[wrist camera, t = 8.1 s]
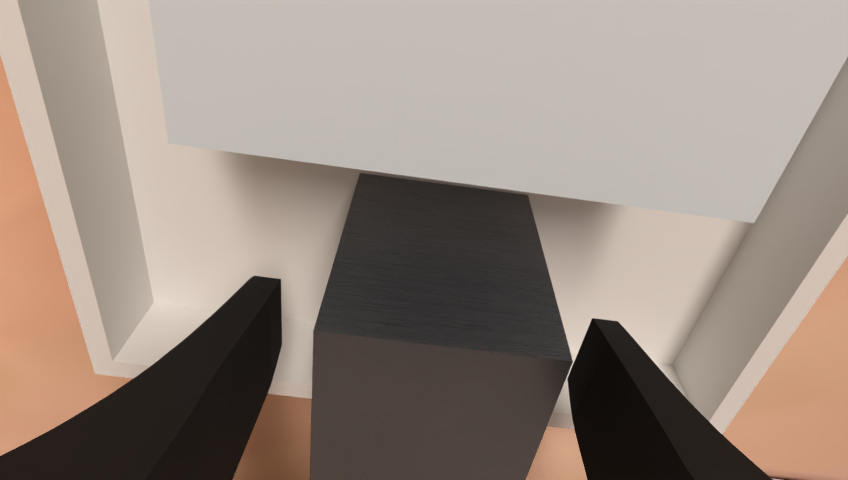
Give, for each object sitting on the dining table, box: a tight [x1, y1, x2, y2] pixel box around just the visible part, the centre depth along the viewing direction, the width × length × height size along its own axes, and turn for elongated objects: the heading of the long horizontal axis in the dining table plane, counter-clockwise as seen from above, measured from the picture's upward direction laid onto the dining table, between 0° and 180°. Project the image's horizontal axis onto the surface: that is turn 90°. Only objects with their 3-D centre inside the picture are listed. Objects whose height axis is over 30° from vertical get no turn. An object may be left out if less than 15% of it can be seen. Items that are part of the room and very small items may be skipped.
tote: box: [0, 0, 848, 434], centre depth 12 cm, size 18×16×3 cm
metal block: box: [310, 173, 573, 480], centre depth 13 cm, size 4×4×6 cm
